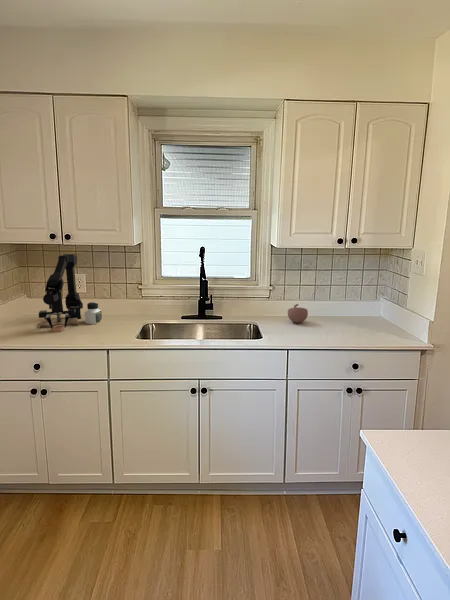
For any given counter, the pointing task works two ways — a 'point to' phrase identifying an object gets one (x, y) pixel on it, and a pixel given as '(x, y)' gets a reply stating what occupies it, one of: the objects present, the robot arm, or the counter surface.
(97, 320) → the medicine bottle
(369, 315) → the counter surface
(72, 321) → the hook board
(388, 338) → the counter surface
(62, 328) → the ring
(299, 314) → the reddish brown apple
